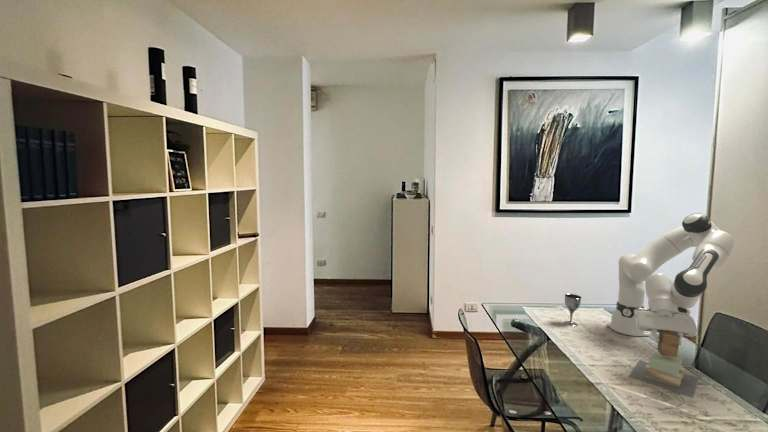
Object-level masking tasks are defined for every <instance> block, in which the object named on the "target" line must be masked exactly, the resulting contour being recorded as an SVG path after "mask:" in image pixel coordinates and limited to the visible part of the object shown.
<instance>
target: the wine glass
mask: <svg viewBox="0 0 768 432" xmlns="http://www.w3.org/2000/svg"><path fill="white" fill-rule="evenodd" d="M581 302H582V296H580V295H578V294H574V293H565V294H564V305H565V308H566V309H567V310H568V312H569V315H570V316H569V317H570V318H569V320H564V321H563V324H564V325H567V326H571V327H577V326H578V325H579V323H577V322H575V321H572V320H573V314H574V313H575V312H576V311H577V310H579V308H580V306H581Z"/></svg>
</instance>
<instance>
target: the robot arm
mask: <svg viewBox="0 0 768 432" xmlns="http://www.w3.org/2000/svg"><path fill="white" fill-rule="evenodd" d="M734 243H735V240H734V237H733V236H732V235H731V234H730V233H729V232H727V231H723V230H720V228H719V227H718V226H717V225H716V224H715V223H714V222H713V221H712V220H711V219H710V217H709V216H708V215H706V214H704V213H702V212H696V213H695V212H694V213H692V214H690V215H687V216H686V217H685V218H683V220H682V222H681V226H679V227H676V228H674V229H672V230H670V231H667V232H665V233H664V234H662V235H661V236H659V237H657V238H656V239H654V240H653V241H651V242H650V243H648V244H647V245H646V246H645V248H644V249H643V250H642V251H640V253H638V254H633V253H626V254H624V255H622V256H620V258H618V259H619V260H618V287H619V288H618V296H617V301H616V304H615V305H616V306H615V309H614V310H613V311H612V314H611V319H610V322H608V323H607V324H606V326H607V327H609V328H611V329H612V330H614V332H618V333H620V334H623V335H627V336H633V337H634V336H635V337H650V334H651V336H653V338H654V339H655V342H656V343H657V344H658V343H661V342H662V340H661V337H659V330H661V331H668V332H675V333H676V334H677V335H678V336H679V337H680V338H679V346H681V345H682V339H683V337H687V338H688V337H689V338H694V337H695V336H696V335H697V334H698V327H697V325H696V322H695V319H694V317H692V316H691V310H690V309H691V308H693V307H694V306H695V305H696V304H697V302H698V301H699V299H700V298H701V296H702V295H703V294H704V291H706V289H707V286H708V280H707V277H708V275H709V274H710V272H711V271H716V270H719V268H721V267H722V266H723V265H724V263H725V262H726V261H727V259H729V256H730V254H731V252H732V250H733V249H734V248H733V247H734ZM689 248H695V249H694V250H693V251H694V252H693V255H692V257H691V259H692V261H693V262H692V263H691V264H690V266H689V267H687V268H686V269H683V270H682V271H680V272H678V273H677V274H676V275H675V278H674V280H673V279H671V278H669V277H668V276H666V275H665V274H663V273H655V272H656V271H657V270H658V269H659V268H660V267H661V266H663V265H664V264H665V263H666V262H669V261H670V260H671V259H674V258H675V257H676V256H678V255H680V254H682V253H683V252H684V251H686V250H687V249H689ZM644 283H645V284H644ZM645 294H646V295H645ZM645 296H646V297H647V299H648V301H647V306H648V308H645V306H644V300H645ZM657 333H658V334H657Z"/></svg>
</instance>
